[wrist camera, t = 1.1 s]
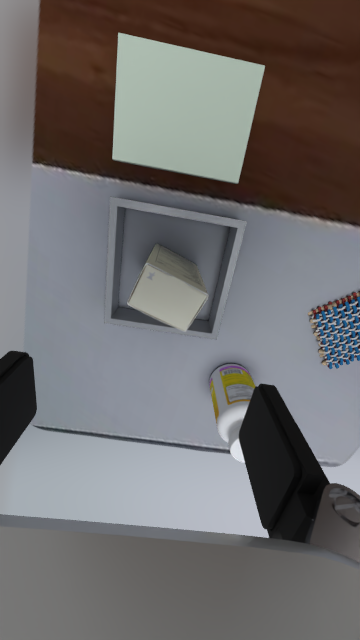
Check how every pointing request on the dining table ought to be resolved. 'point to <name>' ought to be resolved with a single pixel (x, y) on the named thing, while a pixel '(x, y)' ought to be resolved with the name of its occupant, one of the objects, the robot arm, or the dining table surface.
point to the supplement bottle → (231, 403)
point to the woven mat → (338, 330)
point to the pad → (183, 108)
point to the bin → (114, 256)
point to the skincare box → (169, 289)
